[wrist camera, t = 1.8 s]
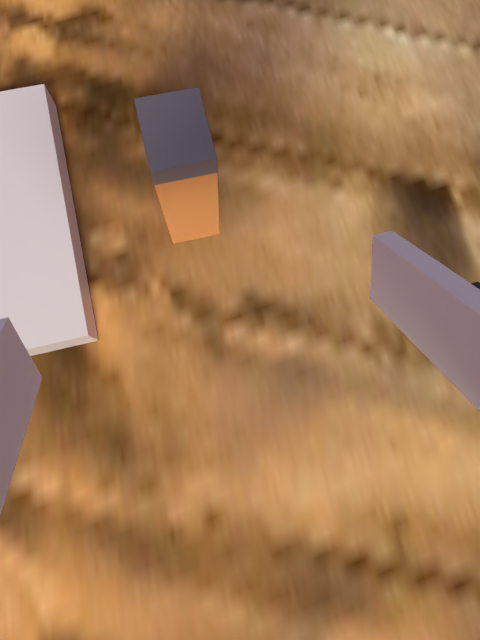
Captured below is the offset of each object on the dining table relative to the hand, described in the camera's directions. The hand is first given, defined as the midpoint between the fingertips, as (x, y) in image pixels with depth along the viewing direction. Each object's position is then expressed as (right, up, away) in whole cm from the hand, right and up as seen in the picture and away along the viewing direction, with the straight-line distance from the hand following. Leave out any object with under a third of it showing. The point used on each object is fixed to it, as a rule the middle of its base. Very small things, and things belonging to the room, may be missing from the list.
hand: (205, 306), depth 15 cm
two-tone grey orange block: (-3, +9, +20) cm, 22 cm away
